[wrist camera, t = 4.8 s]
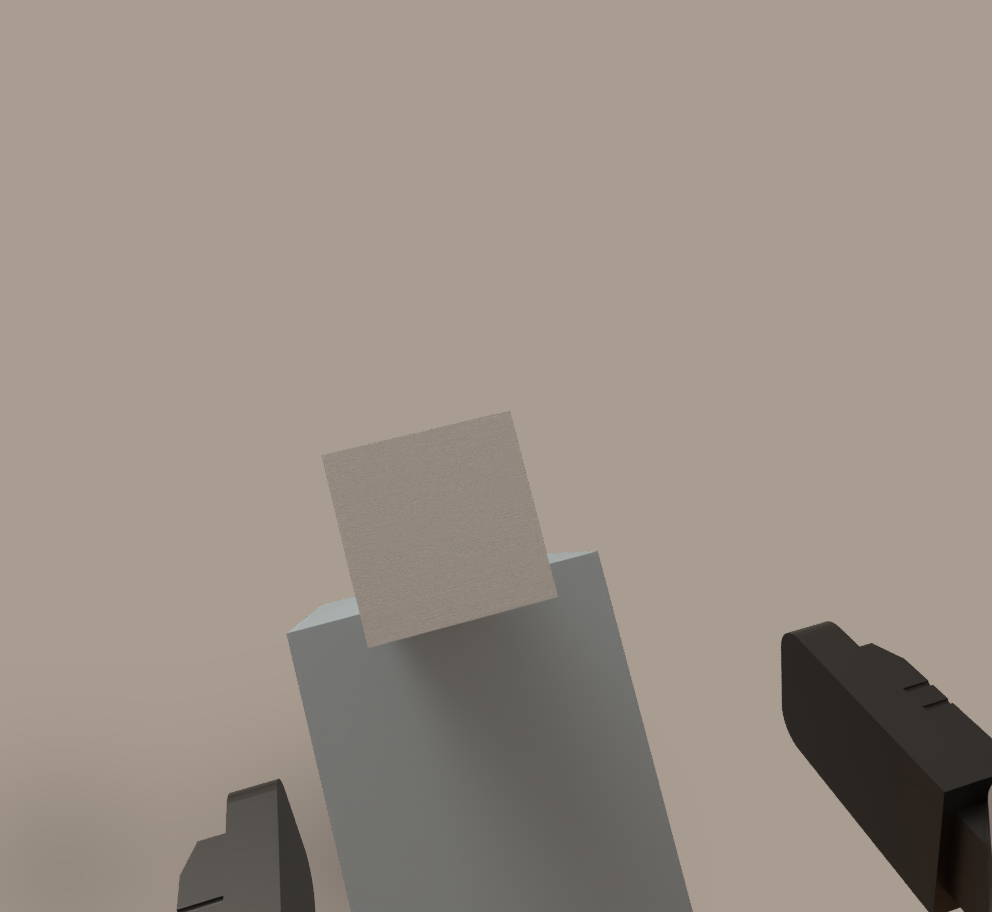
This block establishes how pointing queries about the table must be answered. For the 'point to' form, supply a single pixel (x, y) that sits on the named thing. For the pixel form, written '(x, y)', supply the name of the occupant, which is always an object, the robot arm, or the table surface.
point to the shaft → (439, 528)
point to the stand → (490, 759)
